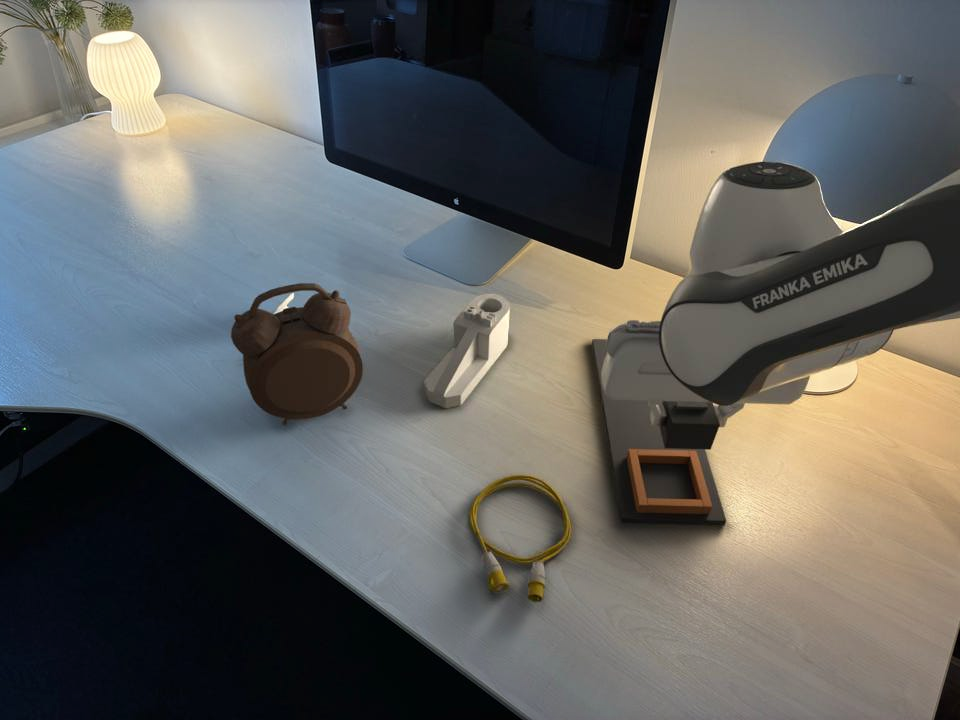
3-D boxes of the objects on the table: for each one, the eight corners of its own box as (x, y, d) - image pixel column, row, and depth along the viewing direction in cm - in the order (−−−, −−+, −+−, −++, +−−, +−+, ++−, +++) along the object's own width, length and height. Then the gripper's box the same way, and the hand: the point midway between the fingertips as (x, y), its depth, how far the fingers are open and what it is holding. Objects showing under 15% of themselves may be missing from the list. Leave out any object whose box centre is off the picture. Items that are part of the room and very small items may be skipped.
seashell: (285, 352, 105) (269, 344, 97) (260, 332, 106) (241, 322, 98) (318, 312, 106) (305, 301, 98) (293, 292, 107) (277, 279, 99)
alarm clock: (356, 376, 96) (340, 257, 83) (371, 411, 91) (355, 289, 78) (251, 403, 92) (216, 282, 79) (260, 441, 87) (224, 318, 74)
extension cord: (433, 566, 74) (433, 556, 73) (499, 467, 85) (499, 456, 83) (535, 617, 70) (536, 607, 69) (590, 506, 80) (593, 496, 79)
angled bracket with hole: (419, 397, 93) (417, 353, 88) (480, 325, 105) (482, 283, 100) (455, 412, 91) (455, 368, 86) (513, 337, 103) (516, 294, 98)
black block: (700, 416, 78) (710, 388, 75) (710, 449, 74) (721, 422, 71) (656, 414, 77) (664, 387, 75) (664, 448, 74) (673, 420, 71)
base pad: (724, 525, 79) (730, 513, 77) (620, 523, 79) (624, 510, 77) (671, 346, 103) (674, 333, 101) (591, 343, 103) (593, 331, 101)
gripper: (615, 342, 63) (595, 441, 72) (836, 348, 63) (787, 446, 72) (606, 301, 68) (589, 399, 77) (812, 306, 68) (769, 403, 77)
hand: (686, 422), depth 75 cm, fingers closed on black block, 5 cm apart
